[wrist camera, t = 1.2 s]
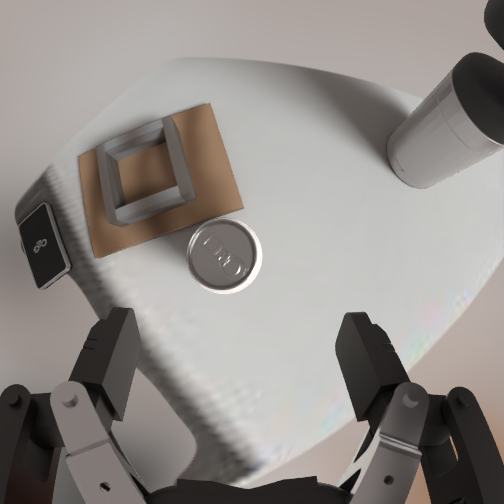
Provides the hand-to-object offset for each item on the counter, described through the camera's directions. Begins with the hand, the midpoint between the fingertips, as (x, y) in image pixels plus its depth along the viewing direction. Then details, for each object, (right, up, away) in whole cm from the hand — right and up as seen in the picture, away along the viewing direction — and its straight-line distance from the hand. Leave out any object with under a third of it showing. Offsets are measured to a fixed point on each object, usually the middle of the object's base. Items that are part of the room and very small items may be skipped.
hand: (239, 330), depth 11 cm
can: (-2, +2, +25) cm, 25 cm away
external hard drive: (-29, +4, +26) cm, 39 cm away
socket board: (-12, +12, +25) cm, 31 cm away
